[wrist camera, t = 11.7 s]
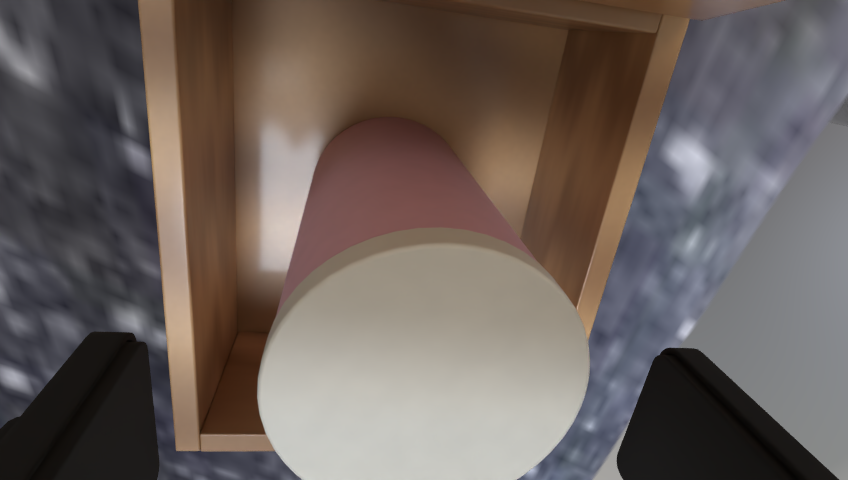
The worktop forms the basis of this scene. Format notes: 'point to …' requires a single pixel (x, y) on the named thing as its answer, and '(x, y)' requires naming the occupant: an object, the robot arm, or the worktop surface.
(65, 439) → the robot arm
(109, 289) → the worktop surface
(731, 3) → the lid
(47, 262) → the worktop surface
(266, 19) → the chest
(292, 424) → the tube
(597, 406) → the worktop surface
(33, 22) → the worktop surface
